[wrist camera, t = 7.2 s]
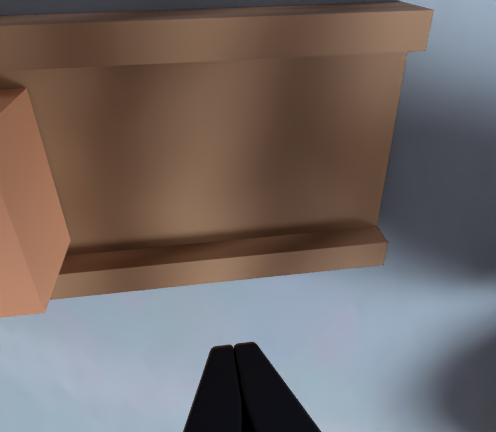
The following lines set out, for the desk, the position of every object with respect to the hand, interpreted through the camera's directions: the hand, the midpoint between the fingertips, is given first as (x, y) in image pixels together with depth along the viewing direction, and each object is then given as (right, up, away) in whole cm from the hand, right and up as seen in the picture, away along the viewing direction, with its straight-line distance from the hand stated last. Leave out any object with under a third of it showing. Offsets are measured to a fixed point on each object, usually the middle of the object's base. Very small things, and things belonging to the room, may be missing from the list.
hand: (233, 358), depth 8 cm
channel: (-4, +5, +8) cm, 11 cm away
